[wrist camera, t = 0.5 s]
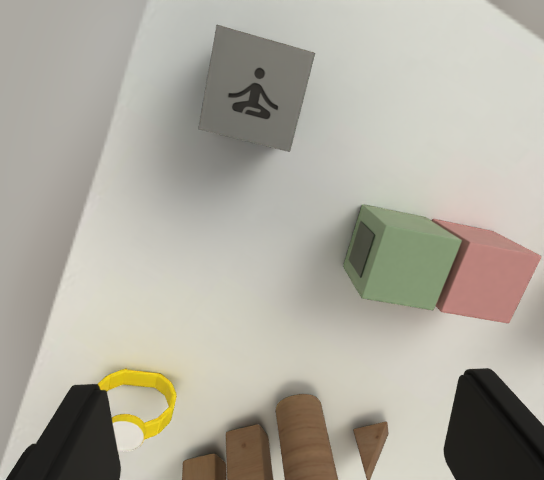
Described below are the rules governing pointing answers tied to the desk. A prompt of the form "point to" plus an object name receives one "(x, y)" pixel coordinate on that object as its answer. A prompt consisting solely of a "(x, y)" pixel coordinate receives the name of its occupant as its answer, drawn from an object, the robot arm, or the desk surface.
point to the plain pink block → (485, 274)
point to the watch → (130, 427)
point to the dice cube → (254, 88)
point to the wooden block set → (286, 447)
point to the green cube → (399, 257)
